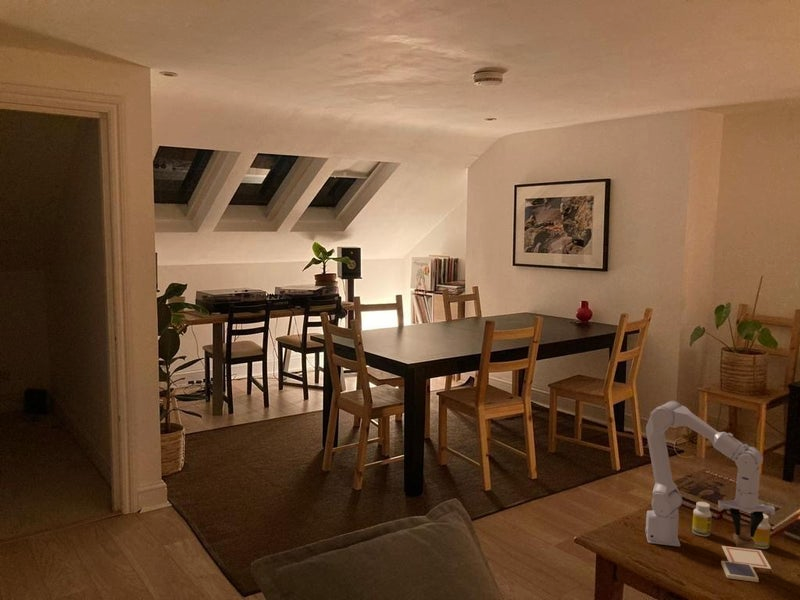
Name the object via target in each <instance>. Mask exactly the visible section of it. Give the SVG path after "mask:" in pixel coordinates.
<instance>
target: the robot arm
mask: <svg viewBox="0 0 800 600" xmlns="http://www.w3.org/2000/svg"><path fill="white" fill-rule="evenodd" d="M649 416H650V417H649V419H648V421H647V423H646V426H645V435H646V439H647V446H648V449H649V456H650V460H651V467H652V473H653V474H652V475H653V480H654V486H653V490H652V500H651V508H652V510H647V511H646V515H645V516H646V518H645V530H644V531H645V535H646V536H645V537H646V540H647V543H648V544H654V545H662V546H663V545H665V546H672V547H681V543H680V540H679V537H678V534H679V533H678V532H679V517H680V516H679V514H680V513H679V508H680V506H682V504H683V497H682V494H681V493H680V492H679V489H678V485H677V484H676V483H675V482H674V481H673V475H672V469H671V462H670V456H669V451H668V445H667V439H666V434H665V433H666V431H667V430H668V429H669V428H671V426H672V424H673V426H674V427H688V428H689V429H690V430H692V431H694V432H696V433H697V434H699V435H701V436H702V437H703V438H706V439H707V440H709V441H711V445H712V447H713V449H715V450H717V451H719V453H721V454H723V455H724V456H725V457H727V458H729V459H730V460H732V461H733V462H734V464H735V466H736V467H737V473H736V487H735V490H736V491H735V500H722V499H721V500H719V499H718V500H717V507H718V509H719V510H728V511H729V513H730V516H731V518H732V519H731V520H732V521H733V526H734V534H736V535H739V526H740V522H741V518H742V515H741V513H740V511H741V512H742V511H743V512H746V513H750V514H749V515H750V517H749V518H750V520H749V521H750V523H749V524H750V525H751V537H754V534H755V531H756V529H757V527H758V526H759V524H760V523H761V522H762V520H763V519H764V516H763V514H766V515H767V514H768V515H770V516H775V515H776V508H775V507H774V506H772V505H768V504H763V503H758V502H759V490H760V473H761V472H760V470H761V467H760V466H762V464H763V462H764V456H763V454H762V452H761V451H760V450H758V448H757V447H755V446H749V445H748V444H747V443H745V444H744V443H743V442H741V441H740V440H739V439H737V438H736V437H734V434H733V433H731V432H728V433H727V432H726V431H718V430H716V429H715V428H713V427H712V426H711V425H709V424H708V423H707V422H706V421H704V420H703V419H702V418H700V417H698V416H697V415H696V414H694V413H693V412H691V411H690V409H689V408H688V407H687V406H685V405H682V404H681V403H680V402H678V401H676V400H670V401H667V402H665V403H664V404H661V405H660V406H656V407H655V408H654V409H653V410H652V411H650V412H649Z"/></svg>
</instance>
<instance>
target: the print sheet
mask: <svg viewBox="0 0 800 600" xmlns="http://www.w3.org/2000/svg"><path fill="white" fill-rule="evenodd" d="M721 548H722V550H723V552H724V554H725V557H726V559H727V561H728V562H736V563H744V564H751V565H752V567H753V568H758V569H763V570H764V569H766V570H772V567H771V565H770V564H769V562H768V560H767V558H766V557H765V555H764V553H763V552H762V549H760V550H759V549H750V548H741V547H737V546H736V547H735V546H734V547H733V546H726V545H721Z"/></svg>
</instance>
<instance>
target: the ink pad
mask: <svg viewBox="0 0 800 600" xmlns="http://www.w3.org/2000/svg"><path fill="white" fill-rule="evenodd" d="M720 564H721V567H722V569H723V571H724V574H725V576H726V579H731V580H740V581H746V582H754V583H759V579H760V578H759V577H758V574H757V572H756V571H755V568H754V567H752V565H751V564H744V563H736V562H729V561H728V560H720Z"/></svg>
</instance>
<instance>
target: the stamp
mask: <svg viewBox="0 0 800 600" xmlns="http://www.w3.org/2000/svg"><path fill="white" fill-rule="evenodd" d="M732 541H733V542H734V544H735V545H736V548H744V549H753V550H756V547H755V542H754V540H753V539H752V537H751V525H750V523H748V522H744V521H742V522H741V521H740V526H739V535H736V533H733V539H732Z"/></svg>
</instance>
